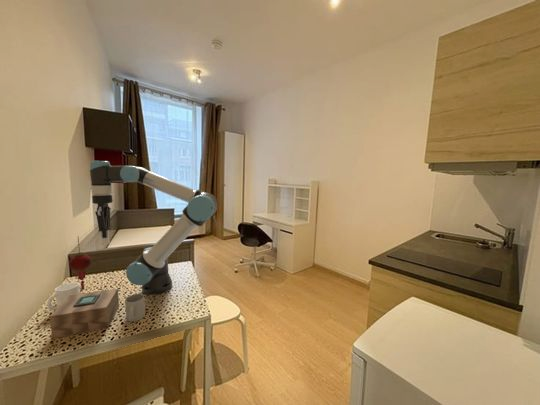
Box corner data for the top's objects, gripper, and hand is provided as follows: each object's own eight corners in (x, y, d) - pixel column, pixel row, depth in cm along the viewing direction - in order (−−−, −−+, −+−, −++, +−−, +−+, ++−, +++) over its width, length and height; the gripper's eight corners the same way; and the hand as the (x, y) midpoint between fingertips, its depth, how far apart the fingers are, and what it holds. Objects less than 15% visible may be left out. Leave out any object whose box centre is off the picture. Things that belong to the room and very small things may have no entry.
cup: (147, 310, 103) (146, 292, 102) (141, 324, 94) (139, 304, 93) (129, 313, 102) (128, 294, 100) (121, 327, 92) (119, 307, 91)
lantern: (66, 292, 119) (61, 237, 116) (84, 284, 128) (79, 232, 125) (81, 294, 117) (76, 238, 114) (98, 285, 127) (93, 233, 123)
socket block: (119, 306, 107) (117, 287, 106) (108, 327, 92) (106, 305, 91) (71, 314, 100) (69, 294, 99) (52, 338, 85) (49, 314, 84)
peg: (96, 315, 99) (95, 296, 98) (93, 321, 95) (91, 301, 94) (85, 317, 97) (83, 298, 96) (80, 323, 93) (79, 303, 92)
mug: (54, 318, 97) (51, 296, 96) (42, 314, 100) (40, 292, 99) (84, 304, 108) (82, 283, 107) (73, 300, 111) (71, 281, 110)
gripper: (97, 193, 109) (101, 241, 112) (86, 195, 97) (91, 248, 100) (115, 193, 112) (118, 239, 115) (107, 195, 100) (111, 247, 102)
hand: (106, 243), depth 107 cm, fingers closed
